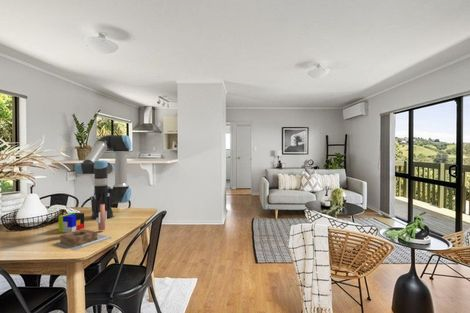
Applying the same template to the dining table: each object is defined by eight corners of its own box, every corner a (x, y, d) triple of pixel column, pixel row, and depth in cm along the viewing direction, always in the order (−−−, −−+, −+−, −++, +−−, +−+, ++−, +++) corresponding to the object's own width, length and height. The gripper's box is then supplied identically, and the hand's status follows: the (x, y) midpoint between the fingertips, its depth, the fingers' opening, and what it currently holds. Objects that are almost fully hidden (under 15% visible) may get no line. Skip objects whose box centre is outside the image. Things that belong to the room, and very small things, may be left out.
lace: (107, 237, 149) (107, 236, 149) (108, 237, 149) (108, 236, 149) (80, 246, 135) (80, 245, 135) (81, 246, 135) (81, 245, 135)
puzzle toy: (71, 232, 160) (71, 217, 160) (58, 231, 162) (58, 216, 162) (84, 228, 170) (84, 213, 170) (71, 227, 172) (71, 212, 172)
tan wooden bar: (102, 228, 163) (102, 203, 162) (106, 229, 161) (106, 204, 161) (97, 229, 160) (96, 204, 159) (100, 230, 158) (100, 205, 157)
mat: (91, 233, 158) (91, 232, 158) (112, 238, 149) (112, 237, 149) (52, 244, 139) (52, 243, 139) (74, 251, 129) (74, 250, 129)
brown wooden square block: (83, 236, 151) (83, 228, 151) (97, 239, 145) (97, 232, 145) (60, 243, 140) (60, 235, 140) (74, 247, 134) (74, 239, 134)
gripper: (109, 182, 169) (109, 217, 169) (84, 186, 154) (84, 224, 154) (116, 183, 165) (117, 219, 166) (92, 187, 150) (92, 226, 151)
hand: (101, 221), depth 160 cm, fingers closed on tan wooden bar, 4 cm apart
